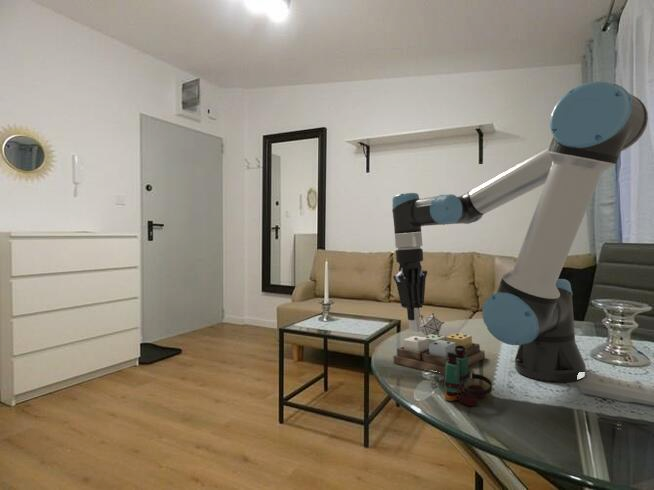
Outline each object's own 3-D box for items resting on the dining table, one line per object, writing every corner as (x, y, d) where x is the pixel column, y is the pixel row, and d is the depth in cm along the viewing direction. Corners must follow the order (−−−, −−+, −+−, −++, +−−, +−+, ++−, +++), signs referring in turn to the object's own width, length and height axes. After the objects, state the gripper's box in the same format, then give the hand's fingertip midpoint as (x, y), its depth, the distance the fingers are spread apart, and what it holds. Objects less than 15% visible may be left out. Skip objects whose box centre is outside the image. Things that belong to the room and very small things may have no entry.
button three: (445, 346, 115) (445, 335, 114) (436, 350, 111) (435, 339, 111) (431, 343, 118) (430, 333, 118) (422, 347, 115) (421, 337, 115)
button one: (429, 348, 109) (428, 337, 109) (418, 353, 106) (417, 341, 106) (414, 345, 113) (413, 335, 113) (404, 350, 109) (403, 338, 109)
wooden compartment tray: (484, 357, 108) (483, 343, 108) (450, 376, 96) (449, 360, 96) (430, 347, 122) (429, 335, 121) (393, 362, 110) (392, 349, 110)
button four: (472, 346, 108) (471, 334, 108) (463, 350, 105) (462, 338, 105) (456, 343, 112) (455, 332, 112) (446, 347, 109) (446, 336, 109)
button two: (456, 353, 103) (455, 341, 102) (446, 358, 99) (445, 346, 99) (440, 350, 106) (439, 339, 106) (429, 355, 103) (428, 343, 103)
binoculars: (485, 363, 76) (437, 352, 82) (484, 415, 76) (436, 400, 83) (498, 351, 82) (453, 341, 89) (497, 398, 83) (452, 385, 90)
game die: (436, 348, 133) (445, 329, 127) (412, 340, 134) (420, 320, 128) (439, 330, 140) (447, 311, 134) (416, 322, 141) (423, 303, 135)
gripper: (411, 247, 116) (417, 324, 116) (383, 250, 108) (389, 333, 108) (433, 246, 110) (439, 327, 111) (405, 249, 102) (411, 337, 102)
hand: (414, 330), depth 109 cm, fingers closed
